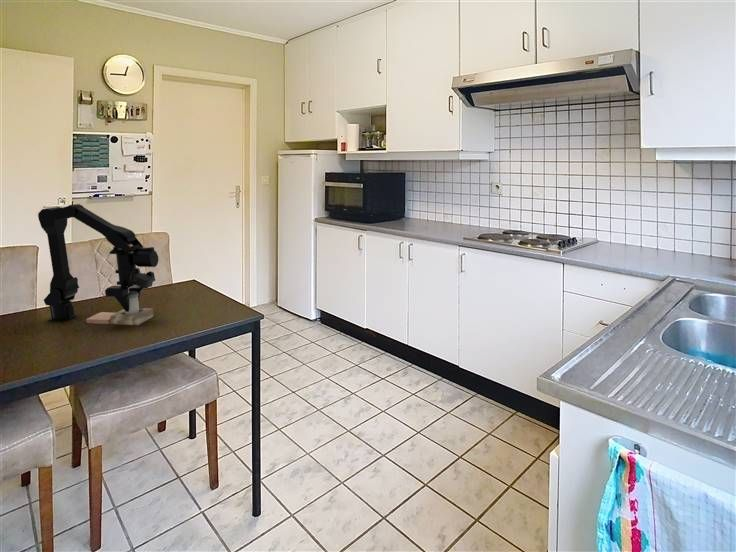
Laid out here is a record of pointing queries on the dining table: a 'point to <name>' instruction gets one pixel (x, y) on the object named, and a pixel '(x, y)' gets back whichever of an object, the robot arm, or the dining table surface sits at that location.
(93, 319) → the tile
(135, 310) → the plug
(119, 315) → the beige square frame
